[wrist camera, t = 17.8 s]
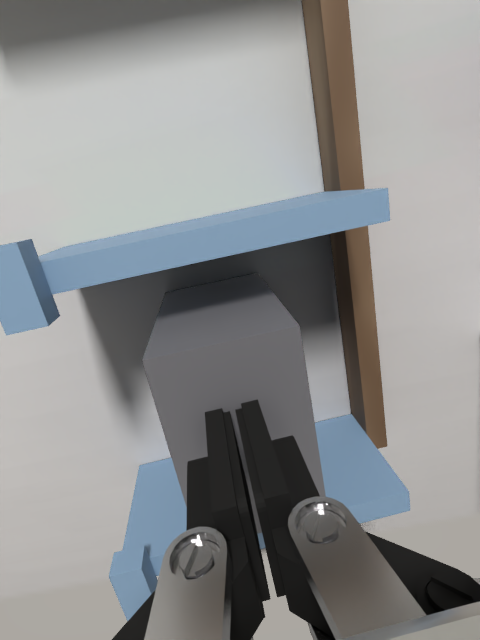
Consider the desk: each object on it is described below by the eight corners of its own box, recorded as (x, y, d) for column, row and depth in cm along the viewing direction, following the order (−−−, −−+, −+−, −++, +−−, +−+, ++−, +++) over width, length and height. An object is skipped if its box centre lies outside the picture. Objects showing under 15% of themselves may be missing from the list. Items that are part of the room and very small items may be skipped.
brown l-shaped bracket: (310, -159, 14) (354, -293, 10) (370, 424, 22) (407, 472, 18) (-55, -99, 13) (-155, -219, 9) (144, 480, 21) (134, 541, 17)
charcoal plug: (257, 272, 18) (299, 325, 11) (280, 399, 21) (328, 516, 13) (165, 292, 18) (141, 360, 11) (198, 417, 20) (198, 547, 13)
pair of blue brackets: (322, 175, 17) (403, 161, 11) (354, 439, 22) (424, 542, 15) (59, 231, 17) (-30, 251, 10) (148, 490, 21) (127, 621, 15)
